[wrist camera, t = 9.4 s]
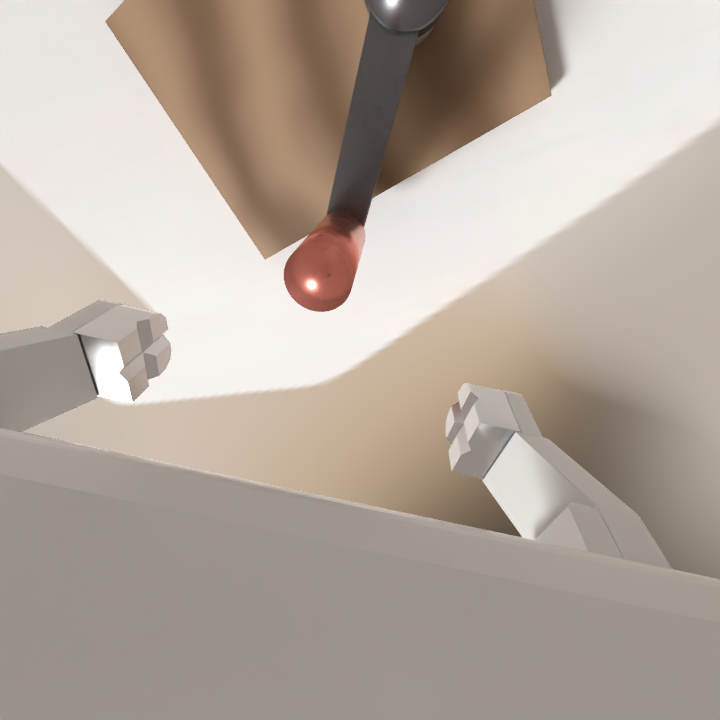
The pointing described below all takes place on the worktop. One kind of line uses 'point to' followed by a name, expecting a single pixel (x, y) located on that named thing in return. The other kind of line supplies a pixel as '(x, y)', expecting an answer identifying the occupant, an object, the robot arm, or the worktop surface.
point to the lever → (360, 153)
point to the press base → (321, 93)
